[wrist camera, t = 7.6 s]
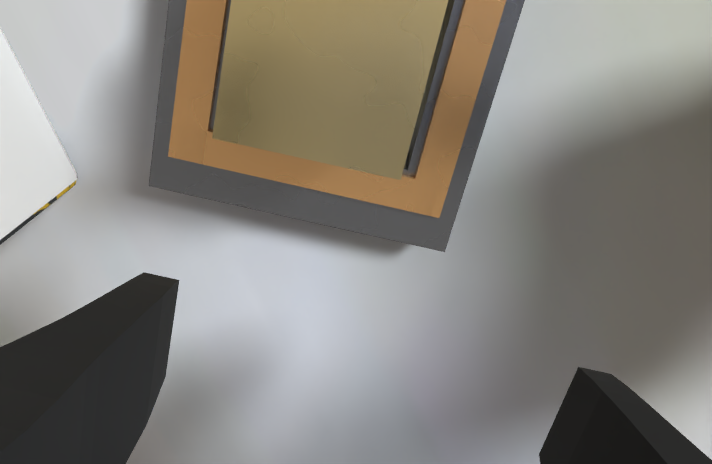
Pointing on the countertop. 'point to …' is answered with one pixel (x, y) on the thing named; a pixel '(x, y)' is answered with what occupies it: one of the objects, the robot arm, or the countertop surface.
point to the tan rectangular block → (328, 78)
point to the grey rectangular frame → (320, 180)
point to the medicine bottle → (26, 150)
